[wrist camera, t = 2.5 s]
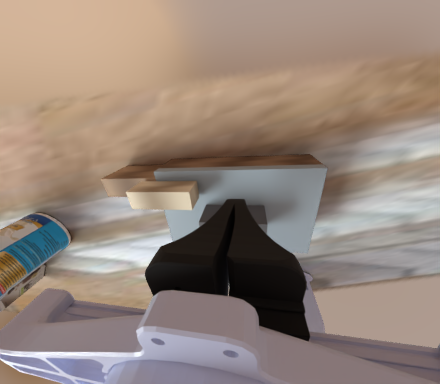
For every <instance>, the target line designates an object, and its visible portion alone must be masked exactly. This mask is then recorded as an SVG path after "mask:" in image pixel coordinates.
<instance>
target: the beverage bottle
mask: <svg viewBox="0 0 440 384" xmlns="http://www.w3.org/2000/svg"><path fill="white" fill-rule="evenodd" d="M70 242H71V236H70V234H69V232H68V230H67V229H66V227H65V226H64V225H63V224H62V223H60V222H59V221H58V220H56V219H55V218H53V217H51V216H49V215H46V214H42V213H33V214H30V215H28V216H26V217H24V218H22V219H21V220H19V221H17V222H15V223H13V224H11V225H9V226H7V227H5V228H3V229H1V230H0V300H1V299H2V298H3V297H4V296H5V295H6V294H7V293H8V291H9V290H11V289H12V288H13V287H14V286H16V285H17V284H18V283H20V282H21V281H22V280H23V279H25V278H26V277H27V276H29V275H30V274H31V273H32V272H34V271H35V270H36V269H37V268H39V267H40V266H41V265H43V264H44V263H45V262H47V261H48V260H49V259H50V258H52V257H53V256H54V255H56V254H57V253H59V252H60V251H62V250H63V249H65V248H66V247H67V246H68V245H69V244H70Z"/></svg>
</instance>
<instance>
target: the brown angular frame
mask: <svg viewBox="0 0 440 384" xmlns="http://www.w3.org/2000/svg"><path fill="white" fill-rule="evenodd" d="M317 164H322V163H321V162H319V161H318V160H317V159H315V158H314V157H313V156H312V155H310V154H303V155H275V156H246V157H218V158H189V159H171V160H170V161H168V162H167V163H165V164H164V165H140V166H126V167H124V168H122V169H120V170H118V171H116V172H114V173H112V174H110V175H108V176H106V177H104V178H102V179H101V181H102V183H103V185H104V188H105V190H106V192H107V194H108V197H127V194H126V192H127V191H128V190H130V189H131V188H132V187H134V186H135V185H137V184H138V183H139V182H141V181H156V179H155V175H154V171H155V170H157V169H158V168H198V167H238V166H277V165H317Z"/></svg>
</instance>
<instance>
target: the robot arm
mask: <svg viewBox="0 0 440 384" xmlns="http://www.w3.org/2000/svg"><path fill="white" fill-rule="evenodd" d="M145 277H146V280H147V283H148V285H149V287H150V289H151V292H152V294H153V298H152V300H151V302H150V304H149V306H148V308H147V310H146V309H138V308H131V307H123V306H116V305H108V304H101V303H93V302H86V301H78V300H74V297H73V296H72V295H71V294H70V293H69V292H67V291H65V290H60V289H52V288H47V289H45V290H44V291H43V292H42V293H41V294H40V295H38V296H37V297H36V298H35V299H34V300H33V301H32V302H31V303H30V304H29V305H27V306H26V307H25V308H24V309H23V310H22V311H21V312H20V313H19V314H18V315H16V317H14V318H13V319H12V320H11V321H10V322H9V323H8V324H7V325H6V326H4V327H3V328H2V329H1V330H0V360H1V361H3V362H5V363H6V364H8V365H10V366H12V367H13V368H15V369H17V370H18V371H20V372H23V373H27V374H31V375H35V376H39V377H42V378H46V379H49V380H53V381H56V382H59V383H62V384H440V345H439V346H438V348H431V347H423V346H416V345H408V344H401V343H393V342H386V341H378V340H371V339H363V338H355V337H348V336H340V335H333V334H326V333H325V328H324V323H323V320H322V317H321V314H320V311H319V308H318V305H317V302H316V300H315V297H314V294H313V291H312V288H311V285H310V281H312V280H313V277H312V276H311V275H309V274H307V273H305V272H303V270H302V268H301V266H300V264H299V262H298V261H297V259H296V257H295V255H294V254H292V253H291V252H289V251H287V250H286V249H284V248H283V247H281V246H280V245H279V244H277V243H276V242H275V241H274V240H272V239H271V238H270V237H269V236H268V235H267V234H266V233H265V232H264V231H263V230H262V229H261V227H260V226H259V225H258V224H257V222H256V221H255V219H254V218H253V216H252V215H251V213H250V211H249V209H248V207H247V205H246V200H245V199H227V200H226V201H225V202H224V204H223V205H222V206H221V207H220V209H219V210H218V211H217V212H216V213H215V214H214V215H213V216H212V217H211V218H210V219H209V220H208V221H207V222H206V223H204V224H203V225H202V226H200V227H199V228H197V229H196V230H194V231H193V232H191V233H189V234H188V235H186V236H184V237H182V238H180V239H178V240H176V241H173V242H171V243H169V244H166V245H164V246H161V247H160V249H159V250H158V251H157V253H156V254H155V256H154V257H153V259H152V261H151V262H150V264H149V266H148V267H147V269H146V271H145ZM228 286H229V287H230V289H229V296H228Z"/></svg>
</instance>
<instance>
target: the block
mask: <svg viewBox="0 0 440 384" xmlns="http://www.w3.org/2000/svg"><path fill="white" fill-rule="evenodd" d="M126 194H127V197H128V199H129V202H130V205H131V207H132V209H162V210H193V208H194V206H195V204H196V202H197V201H198V199H199V191H198V185H197V181H141V182H139V183H138V184H137V185H135V186H134V187H132V188H131V189H130V190H128V191H127V192H126Z"/></svg>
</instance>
